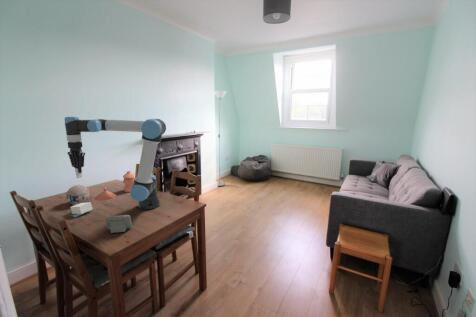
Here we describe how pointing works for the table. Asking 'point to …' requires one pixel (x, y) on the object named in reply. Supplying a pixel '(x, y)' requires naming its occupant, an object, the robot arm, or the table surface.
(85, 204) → the cream block
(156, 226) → the table surface
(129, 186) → the ceramic vessels
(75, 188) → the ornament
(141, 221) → the table surface
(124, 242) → the table surface
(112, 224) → the digital clock
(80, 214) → the strip
